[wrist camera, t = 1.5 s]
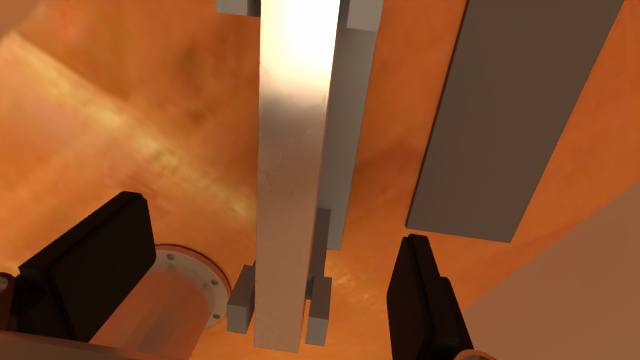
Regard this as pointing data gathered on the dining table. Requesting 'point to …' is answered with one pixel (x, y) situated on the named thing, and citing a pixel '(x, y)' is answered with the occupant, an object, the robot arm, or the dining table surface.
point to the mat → (504, 111)
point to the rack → (338, 160)
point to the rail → (290, 158)
